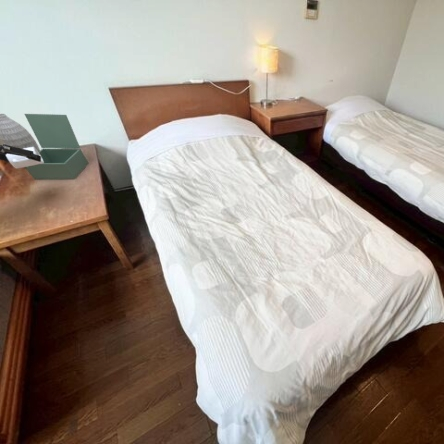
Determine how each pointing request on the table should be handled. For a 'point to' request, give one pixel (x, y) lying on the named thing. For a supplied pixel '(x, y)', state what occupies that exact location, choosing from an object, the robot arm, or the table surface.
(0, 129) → the vase
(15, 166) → the mug
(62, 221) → the table surface
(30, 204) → the table surface
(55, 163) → the chest
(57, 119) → the lid
